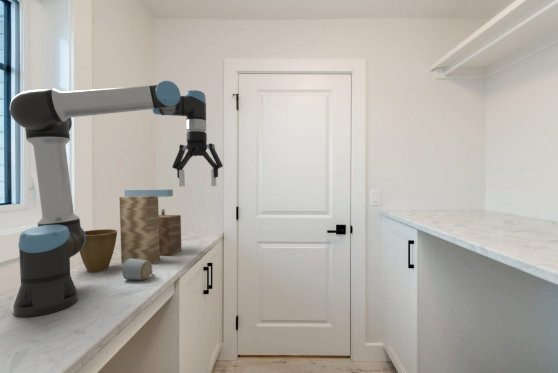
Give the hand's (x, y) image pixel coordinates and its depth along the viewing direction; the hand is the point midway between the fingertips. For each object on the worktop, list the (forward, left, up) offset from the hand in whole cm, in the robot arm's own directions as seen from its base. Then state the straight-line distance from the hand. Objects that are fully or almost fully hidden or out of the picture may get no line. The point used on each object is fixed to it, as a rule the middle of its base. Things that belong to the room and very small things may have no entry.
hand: (197, 186), depth 115 cm
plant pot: (-28, +36, -35) cm, 57 cm away
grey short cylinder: (-19, +12, -35) cm, 41 cm away
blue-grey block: (-8, +32, -4) cm, 33 cm away
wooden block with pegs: (+2, +45, -34) cm, 57 cm away
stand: (-11, +36, -34) cm, 51 cm away
